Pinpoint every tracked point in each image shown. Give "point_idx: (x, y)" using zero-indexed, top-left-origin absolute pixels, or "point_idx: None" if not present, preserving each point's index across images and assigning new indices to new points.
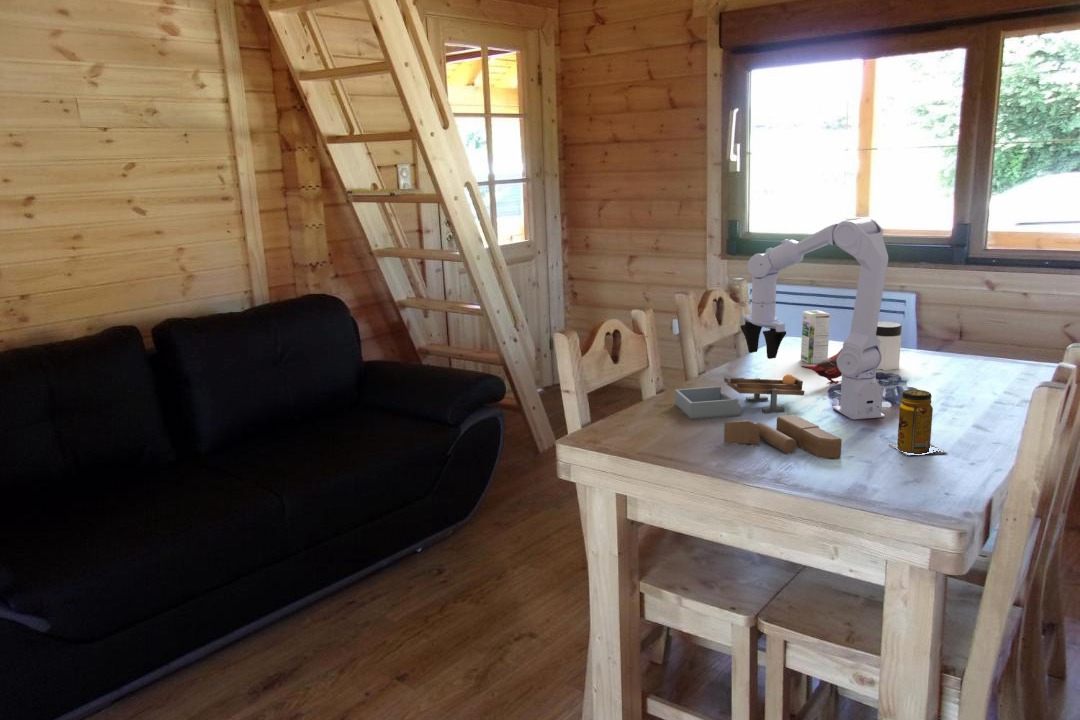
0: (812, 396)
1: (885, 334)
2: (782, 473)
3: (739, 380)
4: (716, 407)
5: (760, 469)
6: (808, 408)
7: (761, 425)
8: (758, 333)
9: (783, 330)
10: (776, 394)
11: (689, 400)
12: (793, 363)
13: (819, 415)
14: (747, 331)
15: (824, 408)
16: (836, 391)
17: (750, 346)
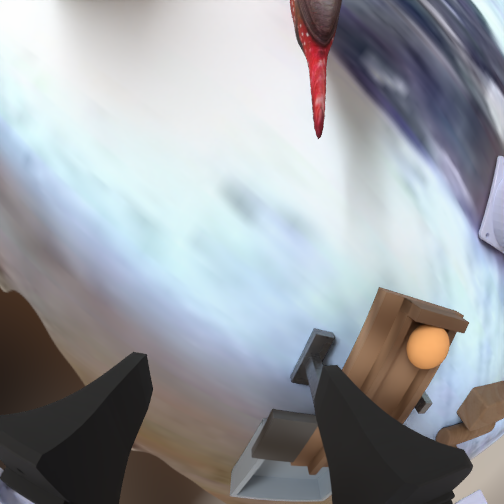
0: (384, 182)
1: None
2: (488, 435)
3: (326, 458)
4: None
5: (471, 448)
6: (443, 284)
7: (453, 445)
8: (90, 431)
9: (475, 499)
10: (425, 395)
11: (309, 500)
12: (52, 4)
13: (477, 298)
14: (114, 500)
15: (465, 249)
16: (379, 73)
17: (141, 414)
